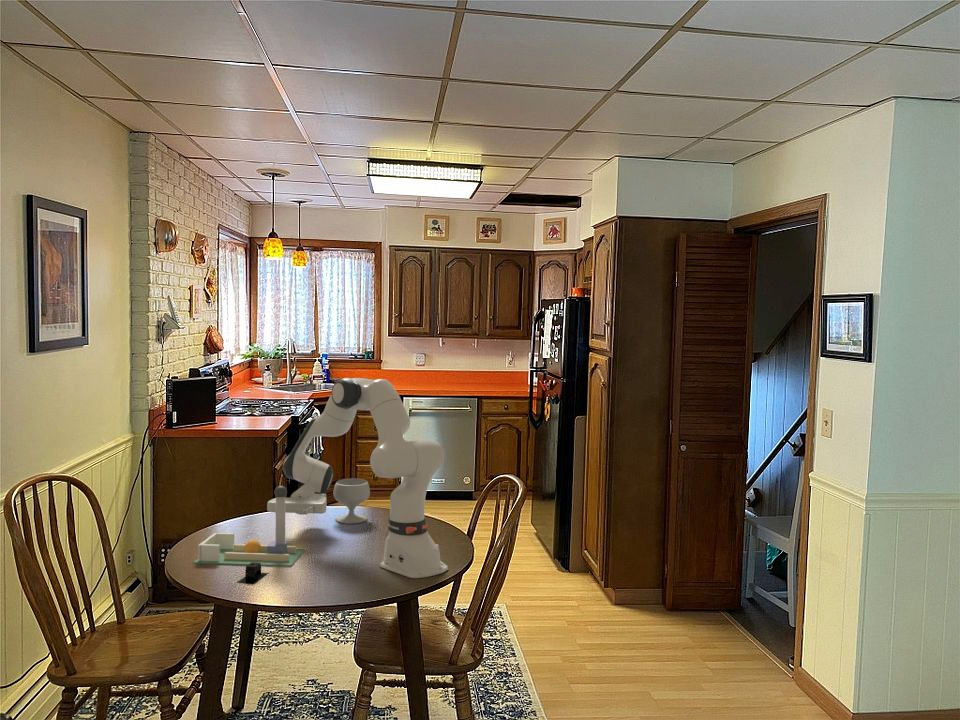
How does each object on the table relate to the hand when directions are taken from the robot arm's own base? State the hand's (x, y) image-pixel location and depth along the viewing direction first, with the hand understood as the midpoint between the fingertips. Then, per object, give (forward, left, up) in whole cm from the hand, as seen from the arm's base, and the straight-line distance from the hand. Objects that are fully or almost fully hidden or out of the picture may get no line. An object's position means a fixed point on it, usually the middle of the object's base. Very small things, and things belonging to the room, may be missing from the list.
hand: (291, 511), depth 240 cm
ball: (-3, +14, -9) cm, 17 cm away
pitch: (-3, +15, -12) cm, 19 cm away
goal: (-2, +15, -12) cm, 19 cm away
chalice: (+17, -32, -12) cm, 38 cm away
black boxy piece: (-21, +21, -13) cm, 32 cm away
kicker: (-8, +8, -11) cm, 16 cm away
